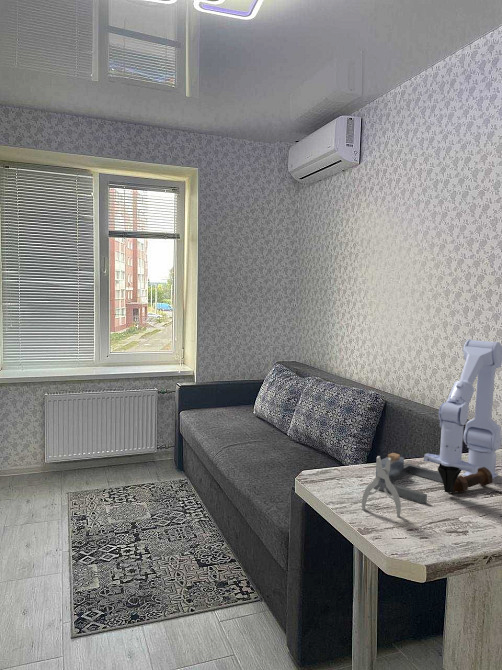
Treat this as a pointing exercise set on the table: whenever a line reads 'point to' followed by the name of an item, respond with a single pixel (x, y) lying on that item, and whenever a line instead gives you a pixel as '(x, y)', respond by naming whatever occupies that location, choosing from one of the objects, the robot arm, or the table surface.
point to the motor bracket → (401, 470)
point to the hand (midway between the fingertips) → (448, 491)
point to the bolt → (473, 480)
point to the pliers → (384, 475)
